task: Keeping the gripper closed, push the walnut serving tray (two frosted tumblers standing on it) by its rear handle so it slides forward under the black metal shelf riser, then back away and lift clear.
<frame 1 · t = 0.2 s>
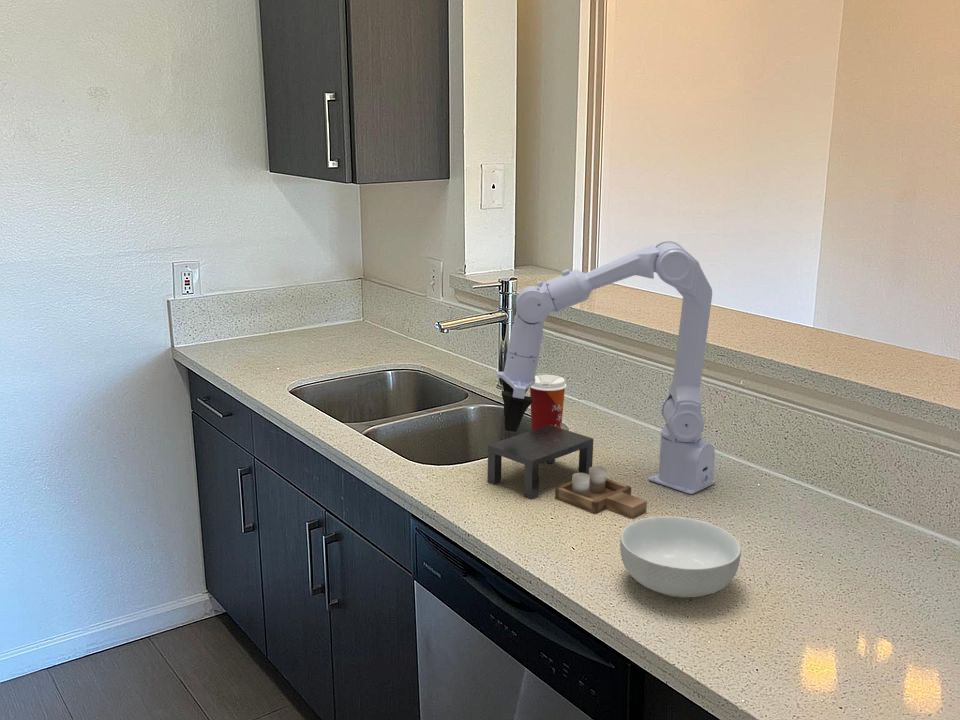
hand: (510, 423, 169), 10 cm above the worktop, tool pointing down, fingers open, 7 cm apart
riser: (540, 478, 171), on the worktop
tray: (592, 497, 162), on the worktop
paper cup: (545, 445, 189), on the worktop
cereal bowl: (677, 586, 133), on the worktop
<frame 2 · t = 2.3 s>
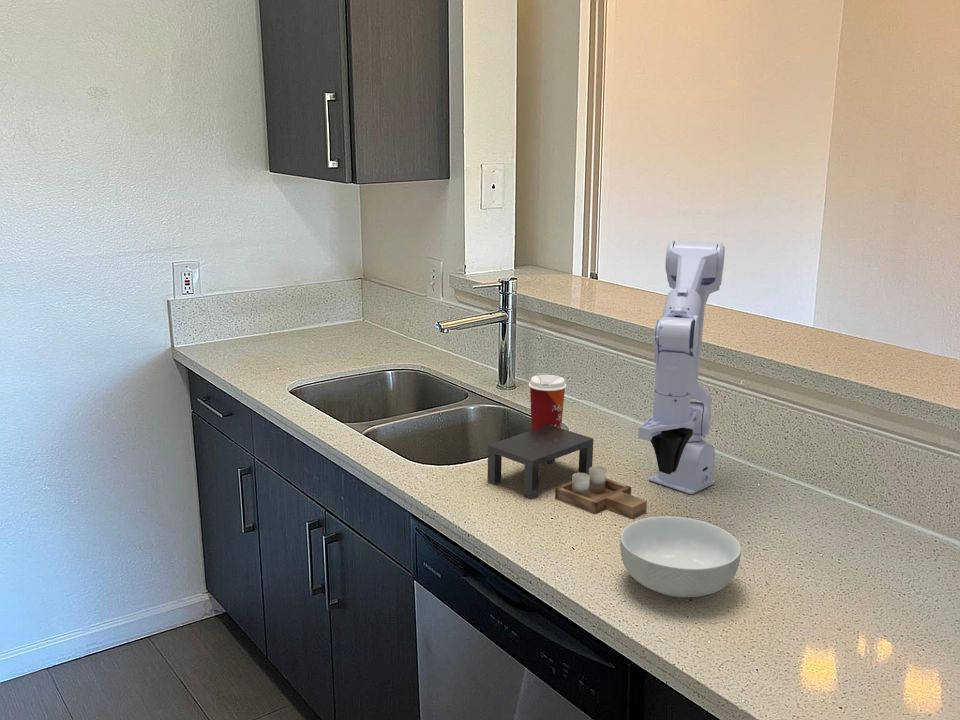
hand: (667, 471, 150), 9 cm above the worktop, tool pointing down, fingers closed
nothing on the worktop moved.
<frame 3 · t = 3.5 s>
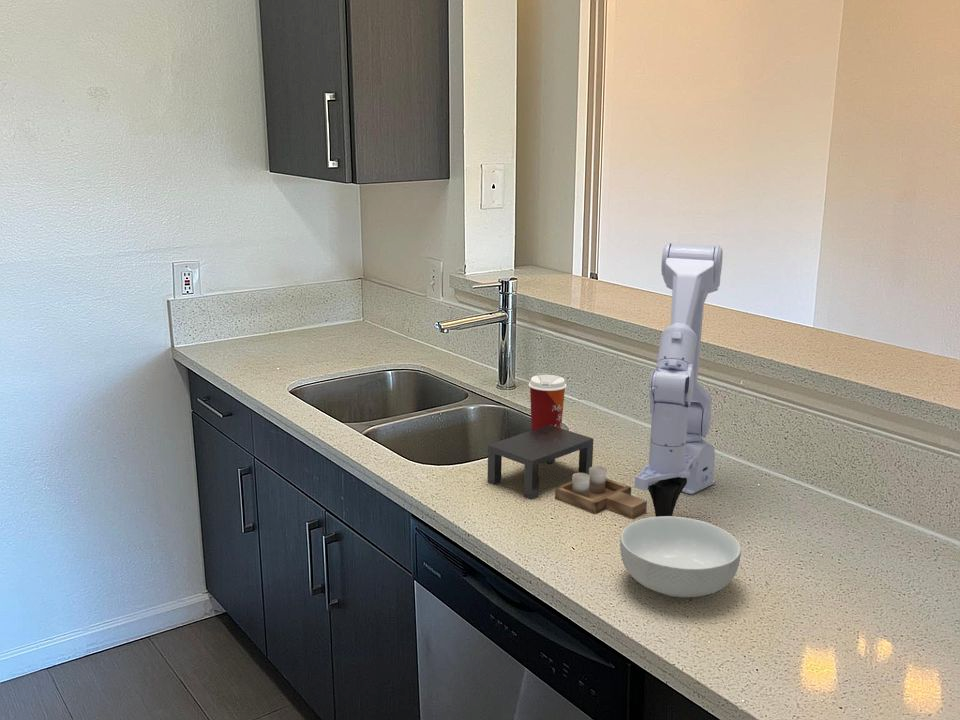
hand: (663, 518, 152), 1 cm above the worktop, tool pointing down, fingers closed
nothing on the worktop moved.
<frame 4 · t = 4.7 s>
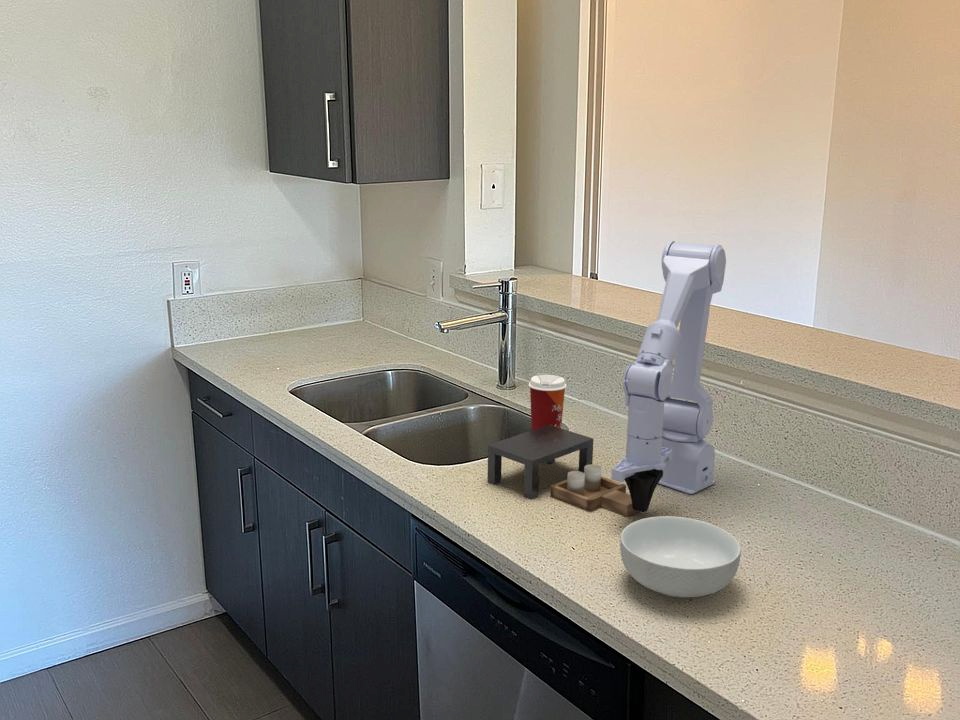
hand: (640, 509, 155), 1 cm above the worktop, tool pointing down, fingers closed, pressing on tray
tray: (588, 496, 163), on the worktop, touching gripper
everything else where it was.
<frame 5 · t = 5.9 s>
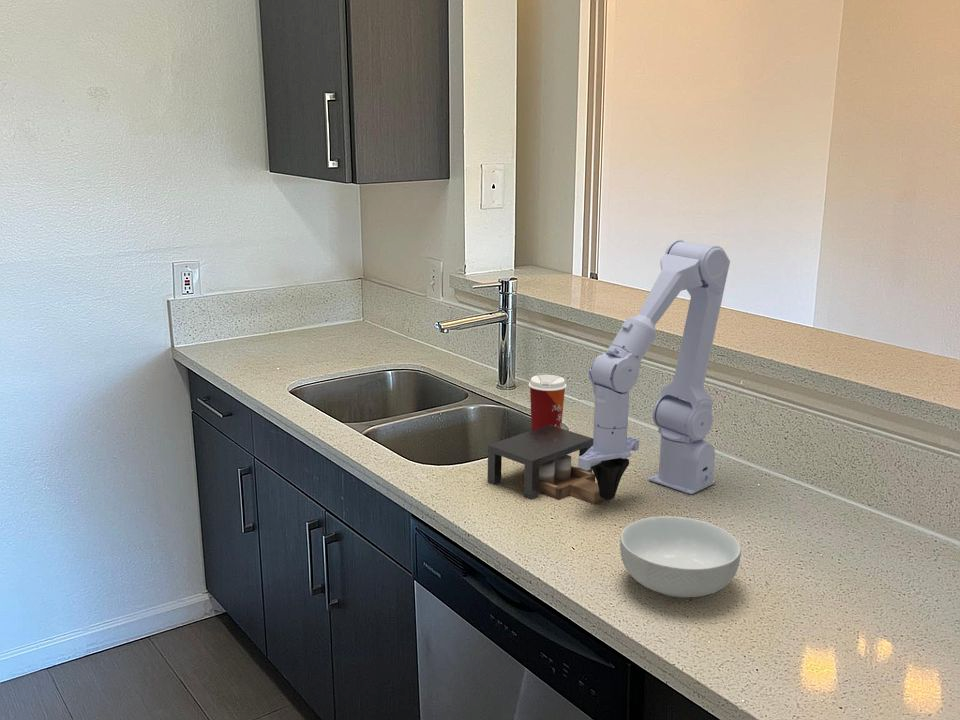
hand: (607, 497, 160), 1 cm above the worktop, tool pointing down, fingers closed, pressing on tray
tray: (558, 484, 168), on the worktop, touching gripper
everything else where it was.
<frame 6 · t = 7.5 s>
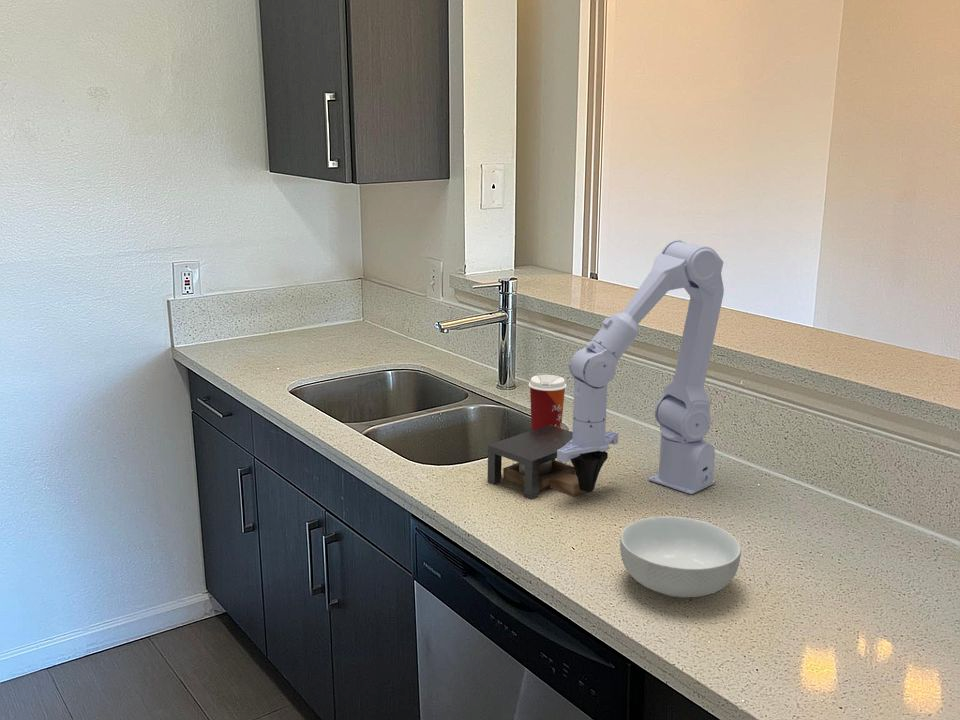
hand: (586, 490, 163), 1 cm above the worktop, tool pointing down, fingers closed, pressing on tray
tray: (539, 477, 171), on the worktop, touching gripper
everything else where it was.
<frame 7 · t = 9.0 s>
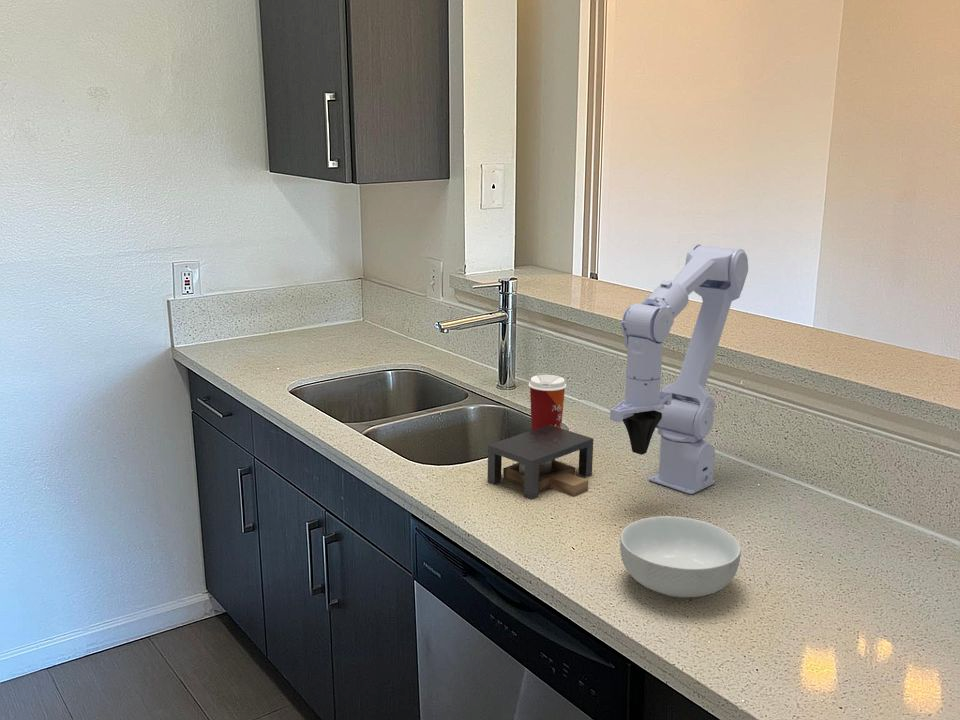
hand: (639, 452, 156), 10 cm above the worktop, tool pointing down, fingers closed
tray: (539, 477, 171), on the worktop
everything else where it was.
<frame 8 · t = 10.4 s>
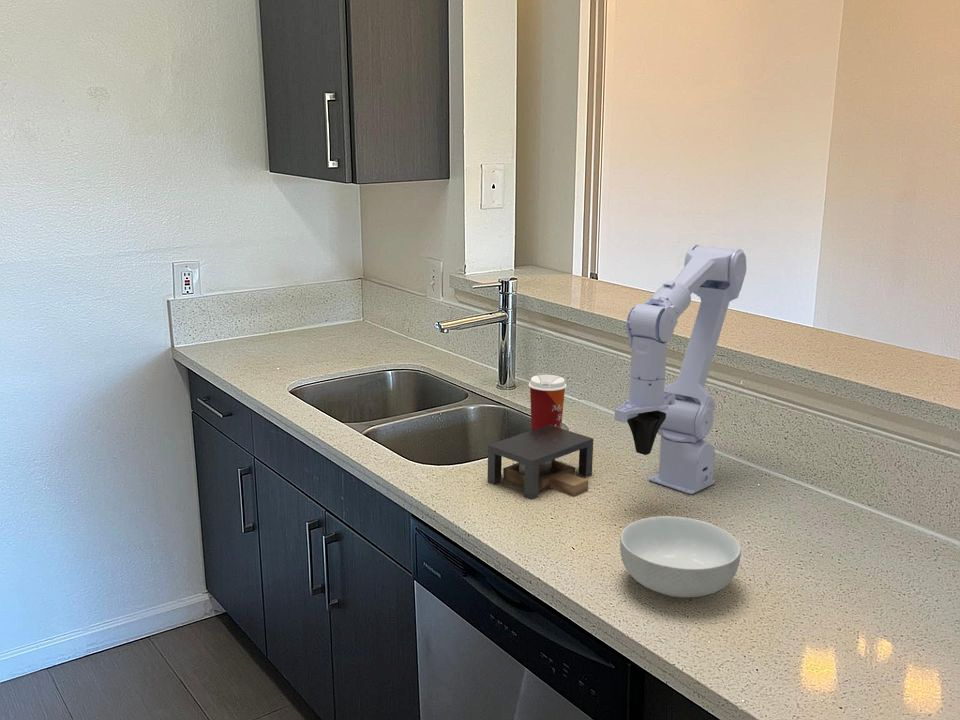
hand: (643, 452, 156), 10 cm above the worktop, tool pointing down, fingers closed
nothing on the worktop moved.
at the end: tray 0.1 cm from the target spot, on the worktop; tray tilted 0° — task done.
